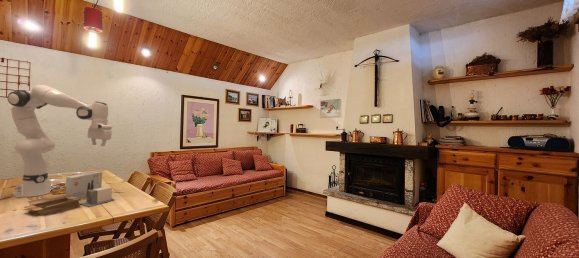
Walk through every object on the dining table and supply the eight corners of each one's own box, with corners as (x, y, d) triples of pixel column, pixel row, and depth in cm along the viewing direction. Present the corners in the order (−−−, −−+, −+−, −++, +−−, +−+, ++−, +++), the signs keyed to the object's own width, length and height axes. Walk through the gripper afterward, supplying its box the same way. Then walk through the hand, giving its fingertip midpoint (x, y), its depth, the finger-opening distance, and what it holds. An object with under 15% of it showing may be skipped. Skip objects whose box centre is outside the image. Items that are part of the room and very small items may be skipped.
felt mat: (79, 204, 155) (79, 204, 155) (106, 198, 169) (106, 197, 169) (88, 207, 151) (88, 206, 151) (115, 200, 166) (115, 199, 166)
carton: (20, 212, 140) (21, 202, 140) (69, 200, 161) (69, 192, 161) (38, 218, 133) (39, 208, 133) (87, 205, 154) (87, 197, 154)
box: (86, 203, 157) (87, 190, 156) (106, 198, 168) (107, 186, 168) (91, 204, 155) (92, 191, 155) (111, 199, 166) (112, 187, 166)
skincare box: (71, 201, 160) (71, 177, 159) (64, 201, 161) (65, 176, 160) (102, 193, 180) (102, 171, 180) (95, 192, 181) (96, 171, 181)
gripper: (85, 124, 170) (84, 144, 170) (104, 126, 162) (102, 147, 163) (95, 124, 176) (94, 143, 176) (113, 126, 168) (112, 146, 168)
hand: (98, 145), depth 169 cm, fingers open, 8 cm apart
